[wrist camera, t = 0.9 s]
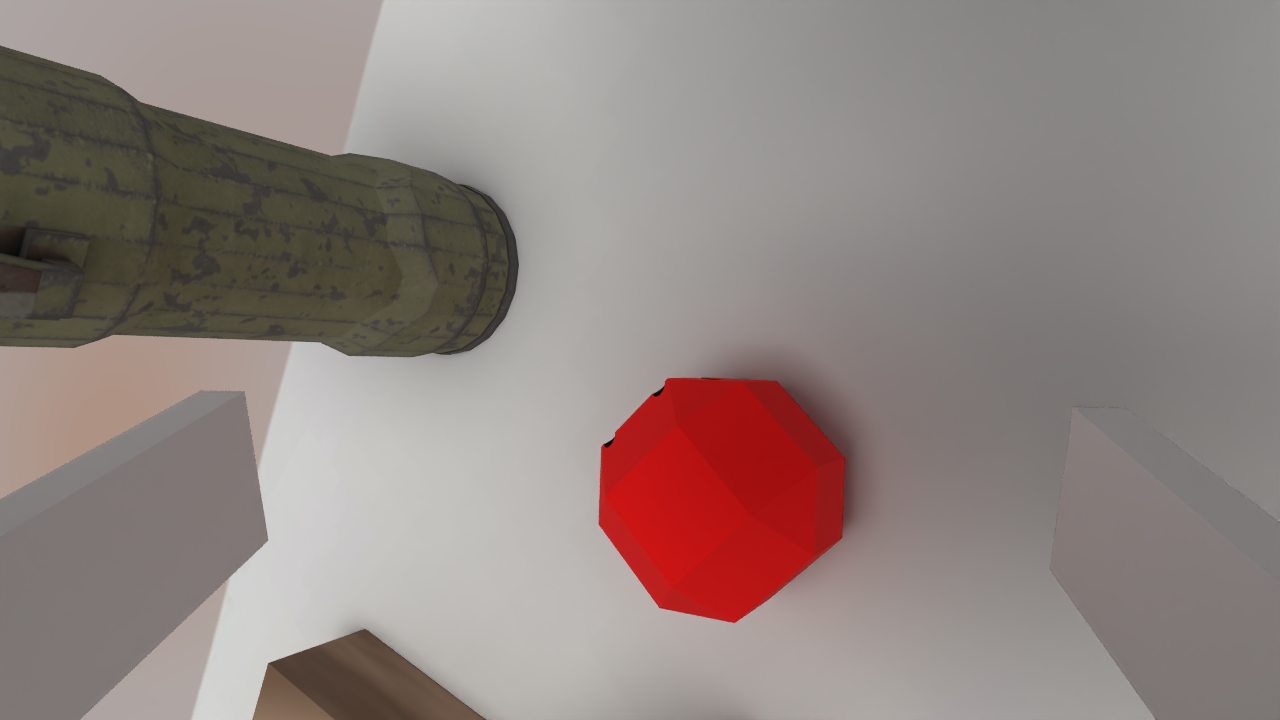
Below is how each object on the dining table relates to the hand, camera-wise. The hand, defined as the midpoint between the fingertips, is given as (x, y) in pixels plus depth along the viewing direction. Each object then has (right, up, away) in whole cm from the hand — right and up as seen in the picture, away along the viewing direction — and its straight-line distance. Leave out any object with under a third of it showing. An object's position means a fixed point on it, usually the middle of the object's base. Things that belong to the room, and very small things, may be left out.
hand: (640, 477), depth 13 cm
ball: (+5, -3, +21) cm, 22 cm away
